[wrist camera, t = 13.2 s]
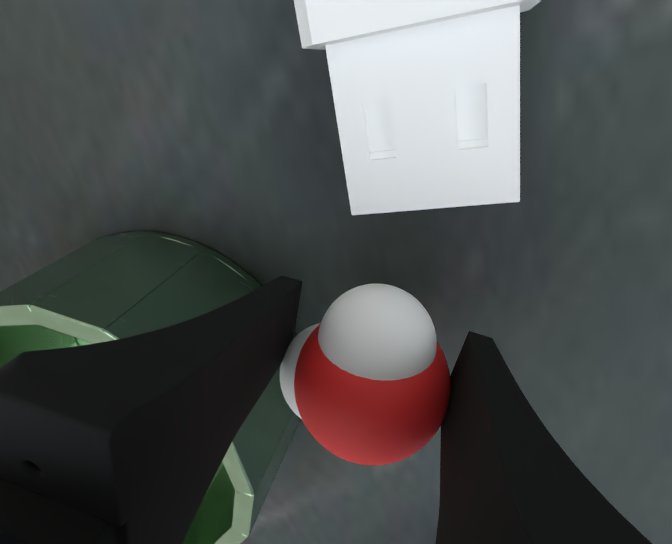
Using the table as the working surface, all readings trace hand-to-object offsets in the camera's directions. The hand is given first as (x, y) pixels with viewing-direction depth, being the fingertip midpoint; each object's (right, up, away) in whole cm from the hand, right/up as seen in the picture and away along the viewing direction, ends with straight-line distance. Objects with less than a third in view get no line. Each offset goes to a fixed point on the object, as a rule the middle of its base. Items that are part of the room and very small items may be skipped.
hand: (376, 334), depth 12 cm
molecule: (0, 0, +2) cm, 2 cm away
